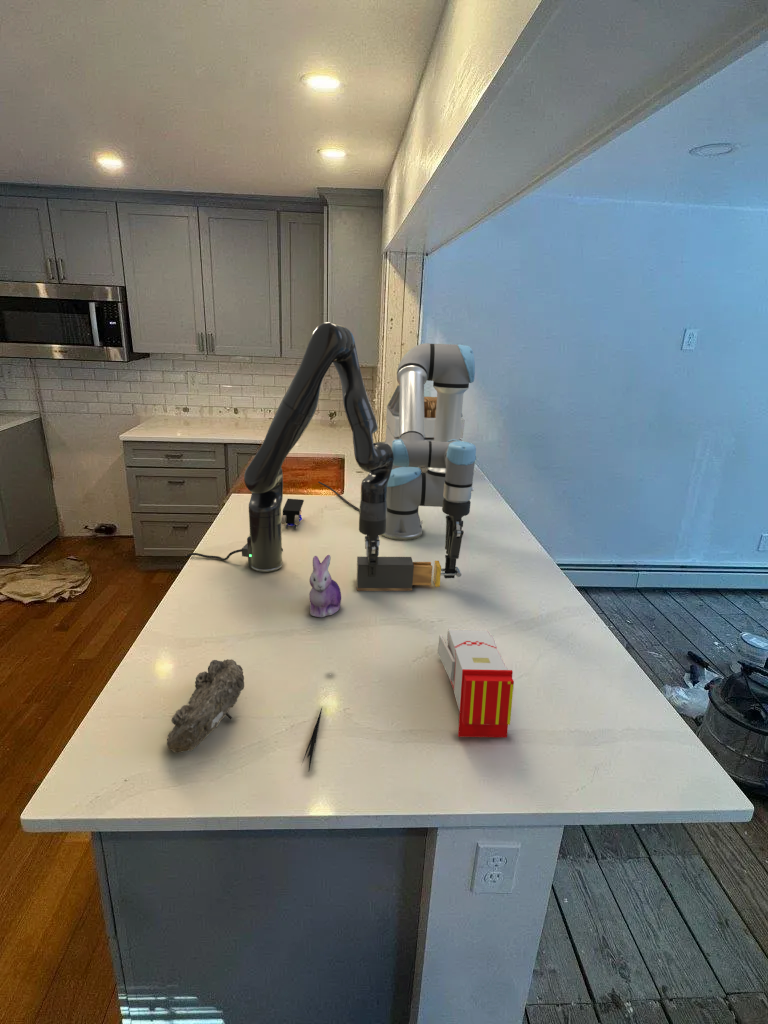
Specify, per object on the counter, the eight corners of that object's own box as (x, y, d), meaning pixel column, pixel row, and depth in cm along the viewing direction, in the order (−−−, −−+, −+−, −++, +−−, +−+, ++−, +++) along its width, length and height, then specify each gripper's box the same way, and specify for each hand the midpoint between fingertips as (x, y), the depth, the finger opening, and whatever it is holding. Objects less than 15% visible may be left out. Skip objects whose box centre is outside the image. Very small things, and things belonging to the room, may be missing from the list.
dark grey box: (409, 581, 165) (411, 556, 163) (412, 590, 160) (413, 564, 157) (356, 581, 164) (357, 556, 161) (357, 590, 159) (357, 564, 156)
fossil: (192, 660, 117) (244, 628, 112) (224, 691, 120) (276, 661, 115) (142, 746, 98) (202, 712, 93) (182, 779, 101) (242, 748, 96)
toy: (488, 613, 130) (523, 677, 101) (484, 667, 133) (517, 744, 104) (435, 612, 130) (455, 676, 101) (432, 666, 133) (451, 743, 103)
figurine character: (300, 535, 198) (304, 515, 212) (299, 515, 195) (304, 497, 208) (280, 534, 198) (286, 515, 211) (279, 515, 195) (286, 496, 208)
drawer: (457, 580, 166) (459, 560, 163) (460, 587, 162) (462, 567, 159) (387, 580, 164) (388, 560, 162) (388, 586, 160) (389, 566, 158)
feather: (331, 679, 122) (336, 673, 122) (307, 777, 96) (313, 769, 95) (324, 675, 122) (329, 669, 121) (298, 772, 95) (304, 764, 95)
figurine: (314, 622, 141) (314, 568, 136) (300, 603, 150) (300, 551, 145) (349, 614, 146) (350, 561, 141) (333, 597, 154) (334, 546, 149)
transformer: (382, 463, 289) (386, 382, 275) (445, 464, 293) (451, 384, 279) (390, 482, 257) (394, 392, 243) (460, 483, 261) (468, 394, 247)
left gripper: (389, 525, 148) (386, 583, 154) (384, 506, 161) (382, 560, 167) (360, 524, 147) (358, 583, 153) (358, 506, 161) (356, 560, 166)
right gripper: (475, 507, 149) (466, 587, 157) (465, 492, 161) (457, 567, 169) (447, 506, 148) (440, 587, 156) (439, 491, 160) (432, 567, 168)
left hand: (371, 571), depth 160 cm, fingers closed on dark grey box, 5 cm apart
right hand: (449, 576), depth 162 cm, fingers closed
